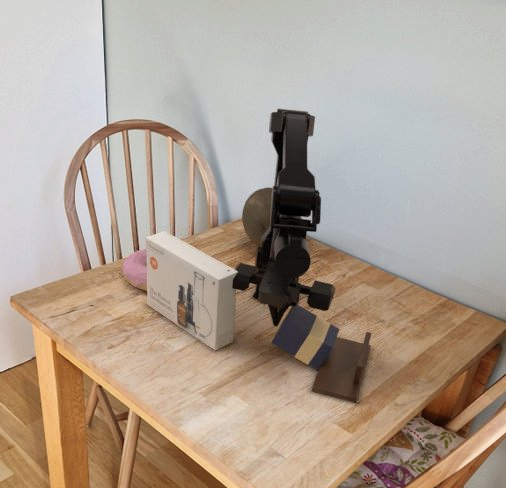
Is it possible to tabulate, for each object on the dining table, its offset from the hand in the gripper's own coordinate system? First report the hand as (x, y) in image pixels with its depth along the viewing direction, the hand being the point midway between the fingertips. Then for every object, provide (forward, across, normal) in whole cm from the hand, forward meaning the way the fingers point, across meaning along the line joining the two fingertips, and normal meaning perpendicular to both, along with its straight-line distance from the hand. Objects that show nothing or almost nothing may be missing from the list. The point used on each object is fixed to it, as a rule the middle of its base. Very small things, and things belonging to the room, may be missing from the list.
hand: (276, 325), depth 116 cm
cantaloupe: (+6, -14, +44) cm, 47 cm away
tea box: (+1, +6, 0) cm, 6 cm away
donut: (+6, -31, +15) cm, 35 cm away
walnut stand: (+5, +14, -1) cm, 15 cm away
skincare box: (+6, -18, +1) cm, 19 cm away
